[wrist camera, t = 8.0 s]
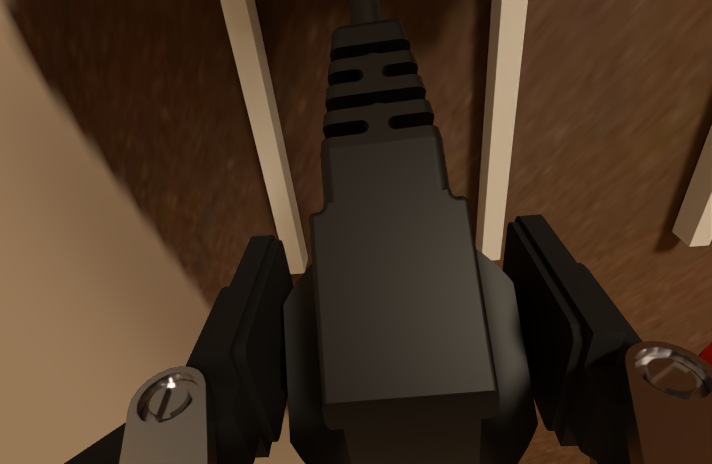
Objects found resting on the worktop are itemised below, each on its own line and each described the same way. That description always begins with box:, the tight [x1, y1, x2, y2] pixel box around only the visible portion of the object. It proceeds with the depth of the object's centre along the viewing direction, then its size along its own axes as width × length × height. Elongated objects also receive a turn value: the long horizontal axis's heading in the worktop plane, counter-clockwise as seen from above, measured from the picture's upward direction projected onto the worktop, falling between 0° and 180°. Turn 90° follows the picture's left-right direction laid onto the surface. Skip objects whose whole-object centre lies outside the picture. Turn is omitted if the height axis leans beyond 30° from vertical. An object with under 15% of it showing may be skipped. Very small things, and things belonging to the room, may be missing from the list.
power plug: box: [280, 0, 538, 464], centre depth 11 cm, size 6×8×12 cm
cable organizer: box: [220, 0, 712, 274], centre depth 18 cm, size 17×23×4 cm
